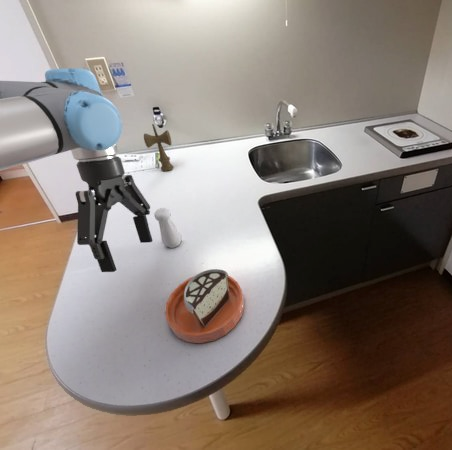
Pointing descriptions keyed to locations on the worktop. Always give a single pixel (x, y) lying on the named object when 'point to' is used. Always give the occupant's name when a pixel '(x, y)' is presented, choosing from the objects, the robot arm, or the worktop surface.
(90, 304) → the worktop surface
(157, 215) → the salt shaker
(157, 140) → the kendama
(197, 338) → the bowl
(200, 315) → the food container
